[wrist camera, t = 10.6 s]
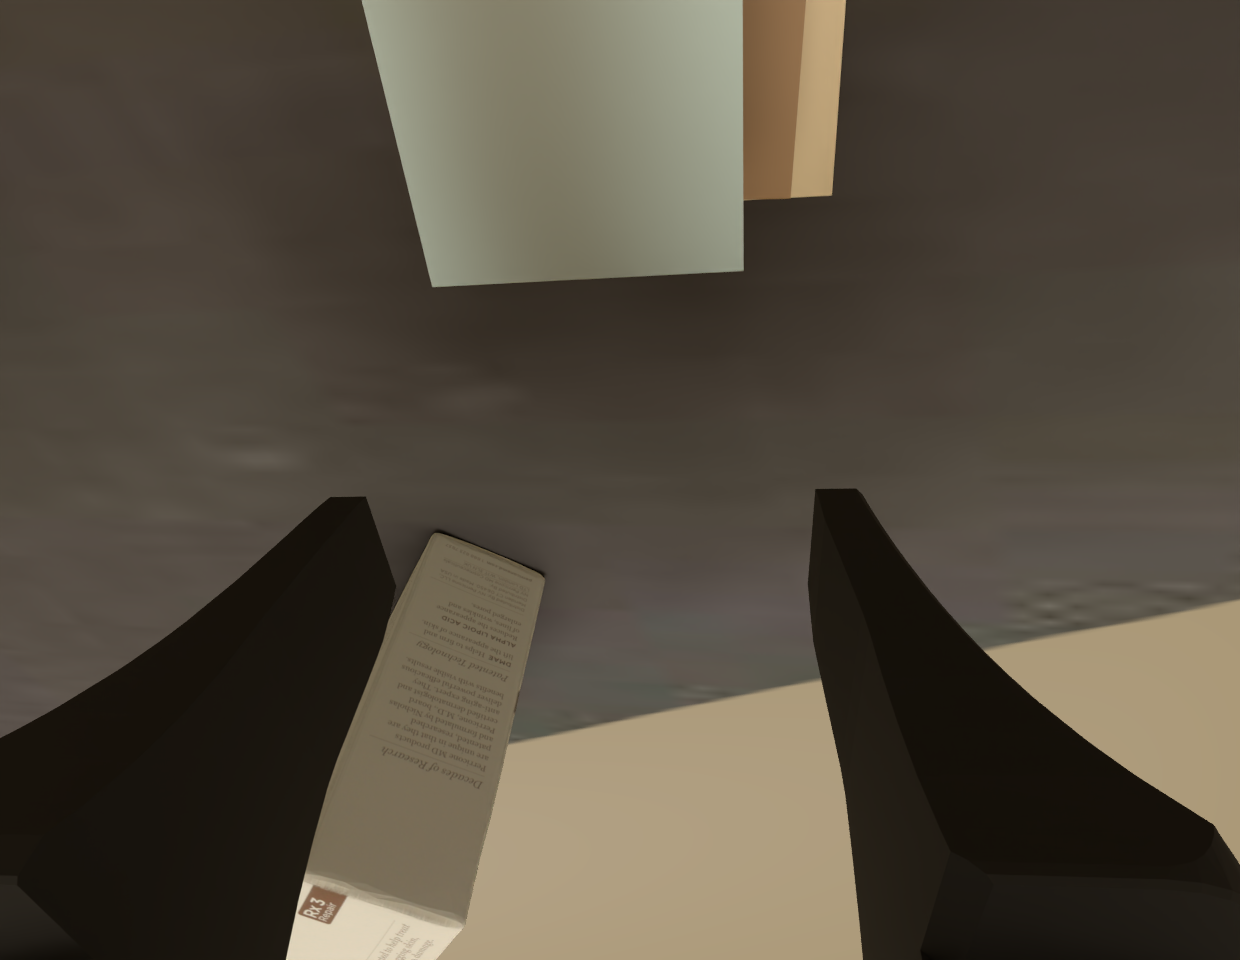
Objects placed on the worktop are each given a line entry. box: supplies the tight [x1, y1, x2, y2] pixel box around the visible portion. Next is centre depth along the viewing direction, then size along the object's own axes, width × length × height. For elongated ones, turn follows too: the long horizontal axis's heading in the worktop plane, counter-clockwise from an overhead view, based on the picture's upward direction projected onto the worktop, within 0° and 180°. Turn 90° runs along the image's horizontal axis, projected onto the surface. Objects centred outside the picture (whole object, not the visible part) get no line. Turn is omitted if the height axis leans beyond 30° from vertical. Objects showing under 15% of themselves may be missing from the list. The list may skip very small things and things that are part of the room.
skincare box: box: [286, 533, 545, 960], centre depth 25 cm, size 6×4×12 cm
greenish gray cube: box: [362, 0, 744, 287], centre depth 12 cm, size 4×4×5 cm
